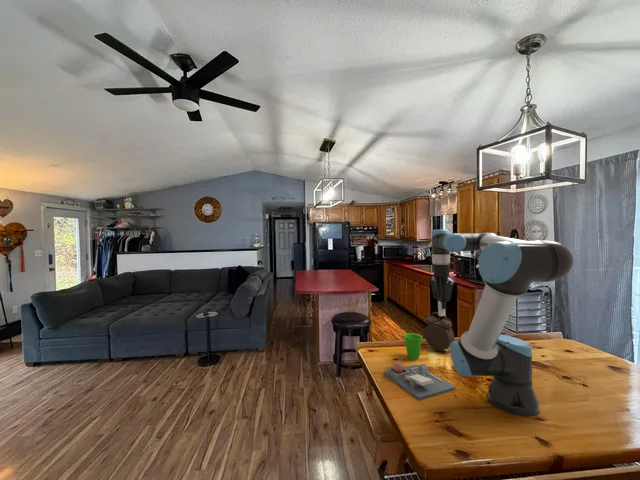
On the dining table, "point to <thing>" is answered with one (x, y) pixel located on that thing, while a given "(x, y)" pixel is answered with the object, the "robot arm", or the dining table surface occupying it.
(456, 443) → the dining table surface
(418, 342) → the cup
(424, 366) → the slider knob
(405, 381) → the panel
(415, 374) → the paddle
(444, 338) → the alarm clock
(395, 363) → the round button
